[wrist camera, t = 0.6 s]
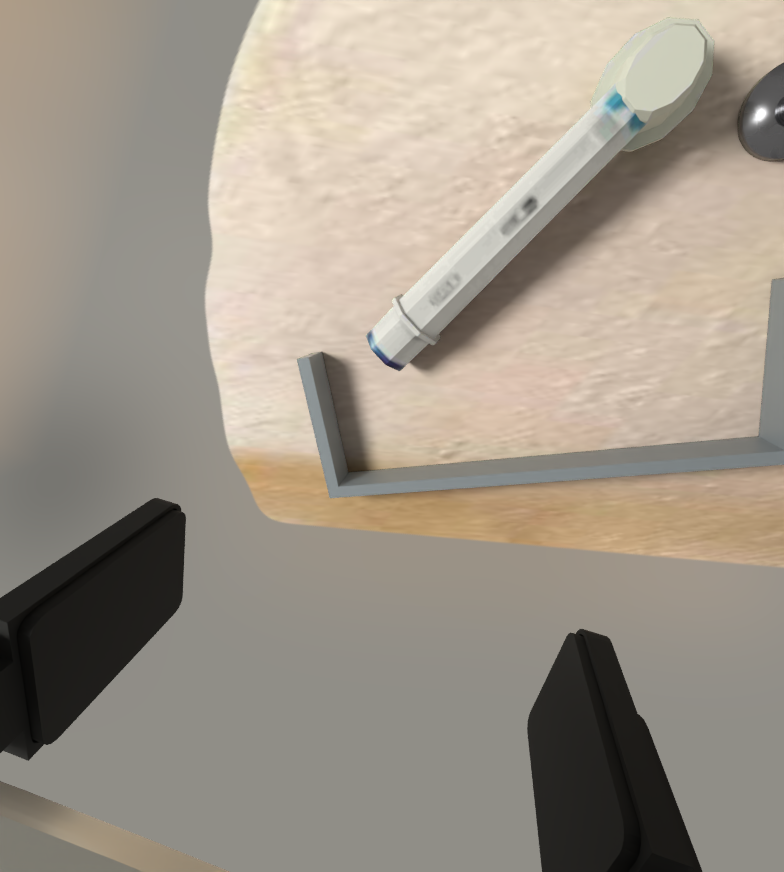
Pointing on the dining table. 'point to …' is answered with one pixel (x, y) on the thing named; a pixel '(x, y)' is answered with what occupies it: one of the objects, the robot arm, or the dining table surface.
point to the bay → (774, 446)
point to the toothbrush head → (557, 178)
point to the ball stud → (764, 118)
